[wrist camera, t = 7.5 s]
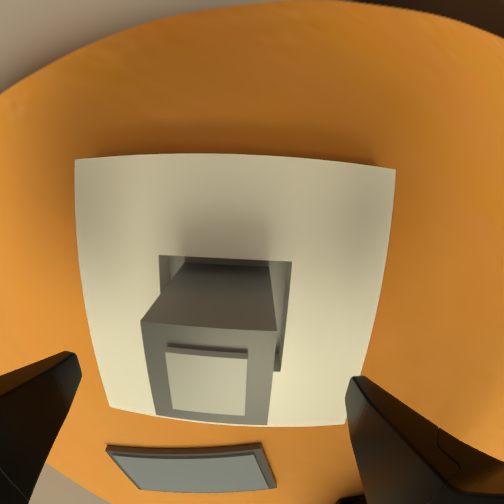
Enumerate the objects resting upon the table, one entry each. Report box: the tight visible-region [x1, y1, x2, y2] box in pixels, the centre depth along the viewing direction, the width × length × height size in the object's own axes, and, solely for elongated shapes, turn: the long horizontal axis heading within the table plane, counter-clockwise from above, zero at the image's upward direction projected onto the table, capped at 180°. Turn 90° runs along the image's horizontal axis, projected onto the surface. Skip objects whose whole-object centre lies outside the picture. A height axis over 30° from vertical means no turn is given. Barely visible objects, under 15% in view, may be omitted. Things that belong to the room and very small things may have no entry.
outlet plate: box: [75, 153, 396, 427], centre depth 14 cm, size 14×14×2 cm
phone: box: [105, 443, 277, 493], centre depth 19 cm, size 6×13×1 cm, turn 103°
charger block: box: [140, 263, 277, 425], centre depth 11 cm, size 4×4×6 cm
